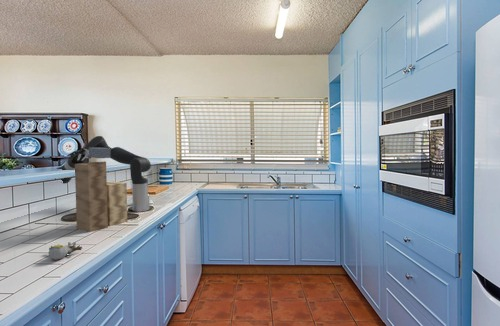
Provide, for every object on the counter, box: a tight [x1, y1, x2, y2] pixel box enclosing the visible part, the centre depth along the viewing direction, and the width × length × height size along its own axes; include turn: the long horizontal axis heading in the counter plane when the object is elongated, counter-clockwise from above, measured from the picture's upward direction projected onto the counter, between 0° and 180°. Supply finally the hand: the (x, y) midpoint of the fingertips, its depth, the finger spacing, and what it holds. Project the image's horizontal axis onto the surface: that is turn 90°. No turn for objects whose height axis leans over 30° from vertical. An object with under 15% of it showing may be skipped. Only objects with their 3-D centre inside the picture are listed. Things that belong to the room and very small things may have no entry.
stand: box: [74, 161, 109, 233], centre depth 150 cm, size 9×12×33 cm
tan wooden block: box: [107, 181, 128, 227], centre depth 162 cm, size 10×12×21 cm
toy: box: [48, 241, 83, 261], centre depth 115 cm, size 12×5×15 cm
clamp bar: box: [83, 148, 111, 159], centre depth 168 cm, size 7×22×5 cm, turn 57°
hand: (86, 148), depth 172 cm, fingers closed on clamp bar, 2 cm apart
